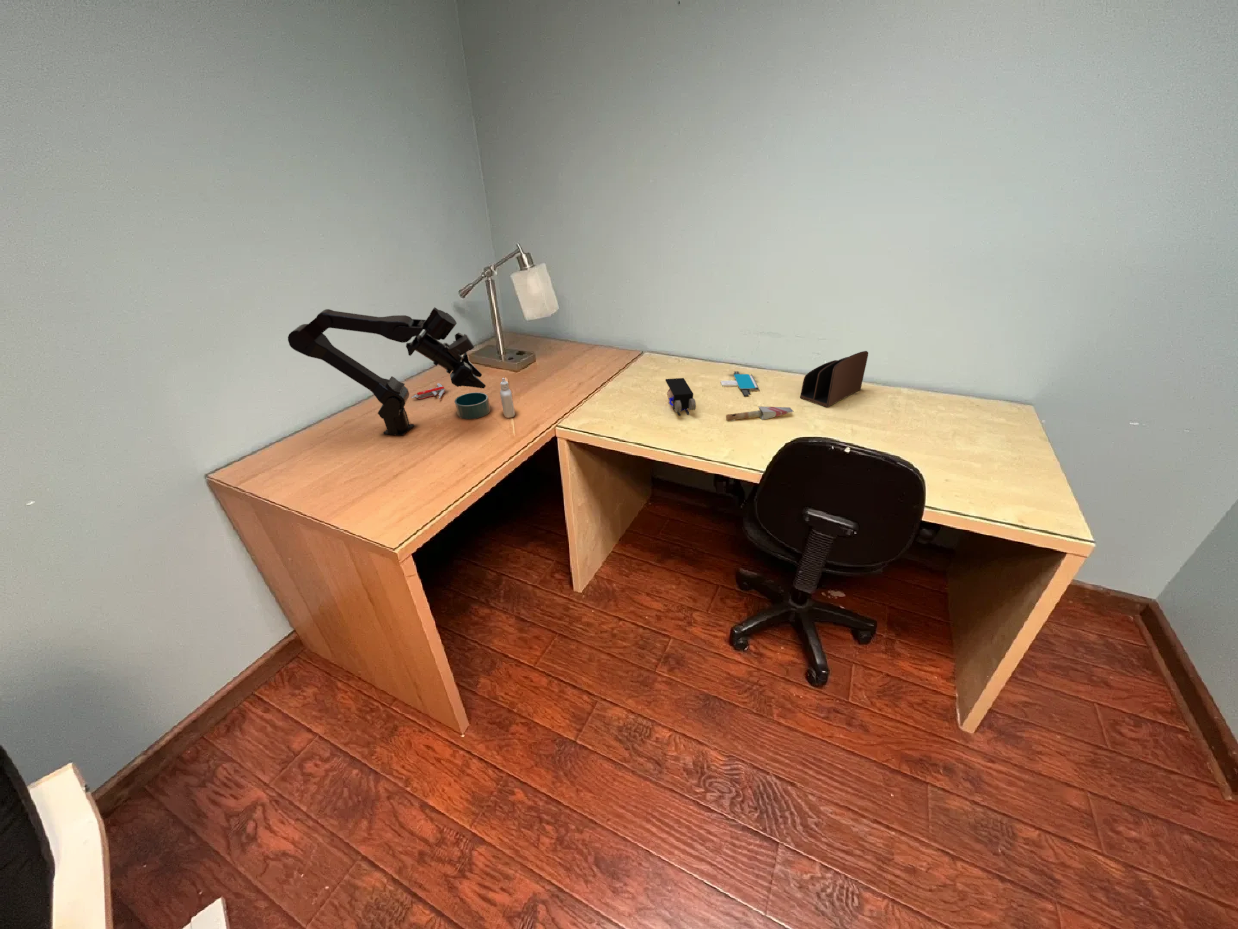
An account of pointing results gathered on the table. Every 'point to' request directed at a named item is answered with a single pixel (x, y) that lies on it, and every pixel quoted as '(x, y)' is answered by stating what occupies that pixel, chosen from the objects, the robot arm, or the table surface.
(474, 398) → the teal bowl
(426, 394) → the swiss army knife
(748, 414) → the paintbrush
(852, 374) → the letter holder
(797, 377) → the table surface
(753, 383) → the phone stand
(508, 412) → the eye dropper bottle
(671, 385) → the black block with wheels
